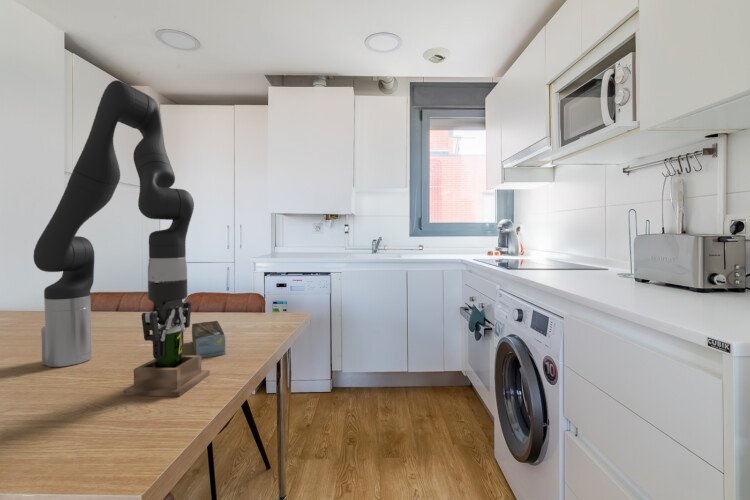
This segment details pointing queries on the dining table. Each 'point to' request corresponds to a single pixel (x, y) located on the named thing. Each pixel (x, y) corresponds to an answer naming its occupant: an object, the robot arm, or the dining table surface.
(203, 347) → the beverage carton
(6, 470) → the dining table surface
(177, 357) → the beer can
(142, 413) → the dining table surface
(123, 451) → the dining table surface
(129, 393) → the walnut holder
